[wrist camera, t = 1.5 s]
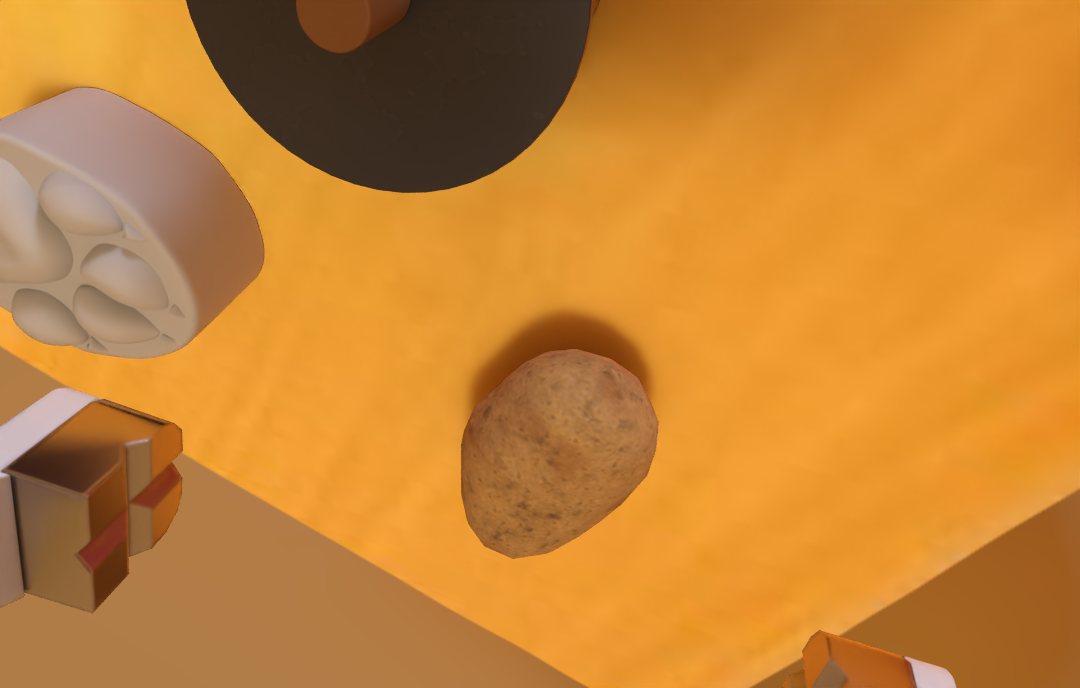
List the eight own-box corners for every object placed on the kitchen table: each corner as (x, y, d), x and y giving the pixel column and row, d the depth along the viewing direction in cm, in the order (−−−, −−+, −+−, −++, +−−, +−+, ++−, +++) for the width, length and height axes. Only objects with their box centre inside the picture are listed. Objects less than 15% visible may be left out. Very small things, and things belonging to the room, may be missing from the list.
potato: (444, 448, 51) (403, 541, 44) (543, 278, 43) (511, 360, 37) (580, 516, 52) (560, 617, 45) (701, 362, 44) (698, 457, 38)
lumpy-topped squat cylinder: (66, 60, 41) (-70, 109, 34) (292, 199, 43) (209, 274, 36) (30, 214, 47) (-94, 284, 40) (232, 332, 49) (149, 419, 42)
